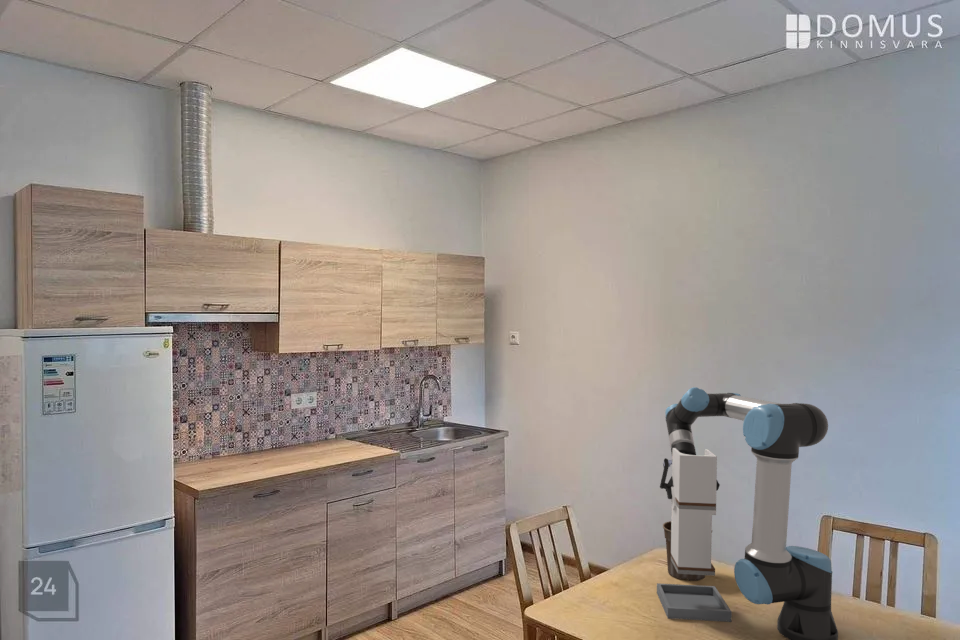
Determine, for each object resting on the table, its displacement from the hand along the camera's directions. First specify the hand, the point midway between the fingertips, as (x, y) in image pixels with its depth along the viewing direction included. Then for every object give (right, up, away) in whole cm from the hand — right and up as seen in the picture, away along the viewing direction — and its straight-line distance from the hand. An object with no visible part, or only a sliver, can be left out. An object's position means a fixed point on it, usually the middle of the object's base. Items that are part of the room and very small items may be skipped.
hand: (693, 508), depth 197 cm
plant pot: (+6, -30, +26) cm, 41 cm away
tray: (0, -30, +1) cm, 30 cm away
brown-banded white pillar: (0, -18, +1) cm, 18 cm away
